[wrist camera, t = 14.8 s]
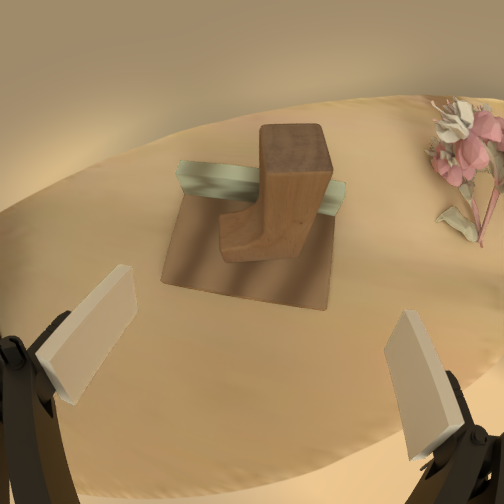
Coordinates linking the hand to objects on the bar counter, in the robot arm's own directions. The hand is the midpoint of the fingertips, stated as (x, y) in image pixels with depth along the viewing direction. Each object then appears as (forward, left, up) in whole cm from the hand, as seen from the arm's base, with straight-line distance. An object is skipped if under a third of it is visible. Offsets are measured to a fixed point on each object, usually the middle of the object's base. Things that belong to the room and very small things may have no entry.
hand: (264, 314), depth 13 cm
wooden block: (-2, +11, -20) cm, 22 cm away
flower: (+27, +26, -21) cm, 43 cm away
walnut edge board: (-3, +11, -21) cm, 24 cm away
